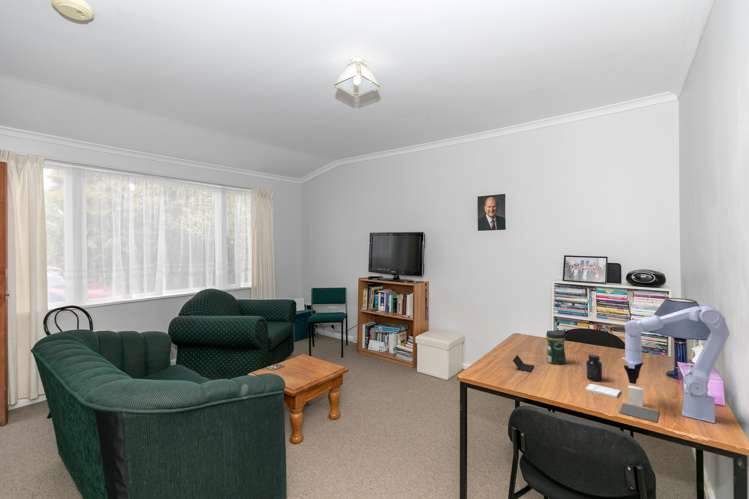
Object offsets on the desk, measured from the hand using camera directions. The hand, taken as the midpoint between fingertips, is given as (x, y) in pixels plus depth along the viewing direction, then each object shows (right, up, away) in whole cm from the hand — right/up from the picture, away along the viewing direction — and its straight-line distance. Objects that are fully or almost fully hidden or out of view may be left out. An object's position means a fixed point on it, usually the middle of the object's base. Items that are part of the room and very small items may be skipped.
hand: (633, 380), depth 152 cm
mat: (-4, -10, -9) cm, 14 cm away
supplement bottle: (0, -10, +27) cm, 29 cm away
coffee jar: (-6, -10, +53) cm, 55 cm away
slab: (0, -10, -1) cm, 10 cm away
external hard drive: (-5, -11, +13) cm, 17 cm away
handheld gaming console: (-28, -10, +45) cm, 54 cm away
